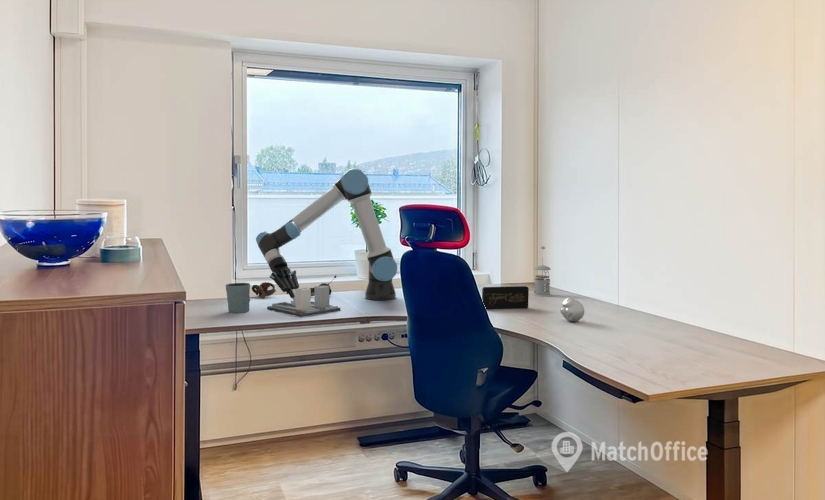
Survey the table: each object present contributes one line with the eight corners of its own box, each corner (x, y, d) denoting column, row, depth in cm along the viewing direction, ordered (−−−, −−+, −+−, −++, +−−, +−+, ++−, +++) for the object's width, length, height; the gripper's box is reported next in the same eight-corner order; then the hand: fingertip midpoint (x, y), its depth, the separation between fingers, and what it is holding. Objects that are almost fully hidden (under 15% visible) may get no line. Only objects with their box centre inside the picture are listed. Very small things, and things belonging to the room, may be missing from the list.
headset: (336, 276, 297) (296, 282, 293) (339, 295, 298) (298, 301, 294) (335, 273, 310) (296, 278, 307) (337, 291, 311) (298, 296, 308)
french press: (529, 295, 304) (530, 246, 302) (538, 292, 313) (539, 245, 311) (547, 297, 298) (548, 247, 296) (556, 294, 308) (557, 246, 306)
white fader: (295, 309, 254) (295, 288, 254) (305, 308, 258) (305, 287, 257) (301, 311, 252) (300, 289, 251) (310, 309, 255) (310, 288, 254)
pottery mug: (276, 295, 303) (278, 283, 299) (271, 307, 295) (273, 294, 291) (252, 290, 302) (254, 277, 298) (247, 301, 294) (249, 287, 290)
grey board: (267, 309, 263) (267, 304, 263) (306, 303, 278) (306, 298, 278) (300, 317, 246) (300, 311, 246) (340, 310, 261) (340, 305, 261)
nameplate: (483, 310, 264) (483, 287, 263) (482, 309, 266) (482, 287, 265) (528, 308, 268) (528, 286, 267) (526, 307, 269) (527, 286, 269)
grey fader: (314, 307, 261) (314, 286, 261) (323, 305, 265) (323, 285, 264) (320, 308, 259) (320, 287, 258) (329, 306, 262) (329, 285, 262)
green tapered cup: (249, 313, 254) (248, 285, 253) (224, 314, 252) (223, 286, 251) (251, 309, 264) (251, 282, 263) (227, 309, 262) (227, 282, 261)
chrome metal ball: (558, 319, 244) (558, 294, 243) (581, 319, 243) (582, 295, 242) (561, 323, 235) (562, 298, 234) (586, 324, 234) (586, 299, 233)
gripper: (285, 265, 274) (307, 306, 263) (260, 267, 264) (282, 310, 254) (291, 254, 269) (314, 295, 259) (266, 256, 260) (289, 299, 250)
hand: (298, 302), depth 257 cm, fingers closed
